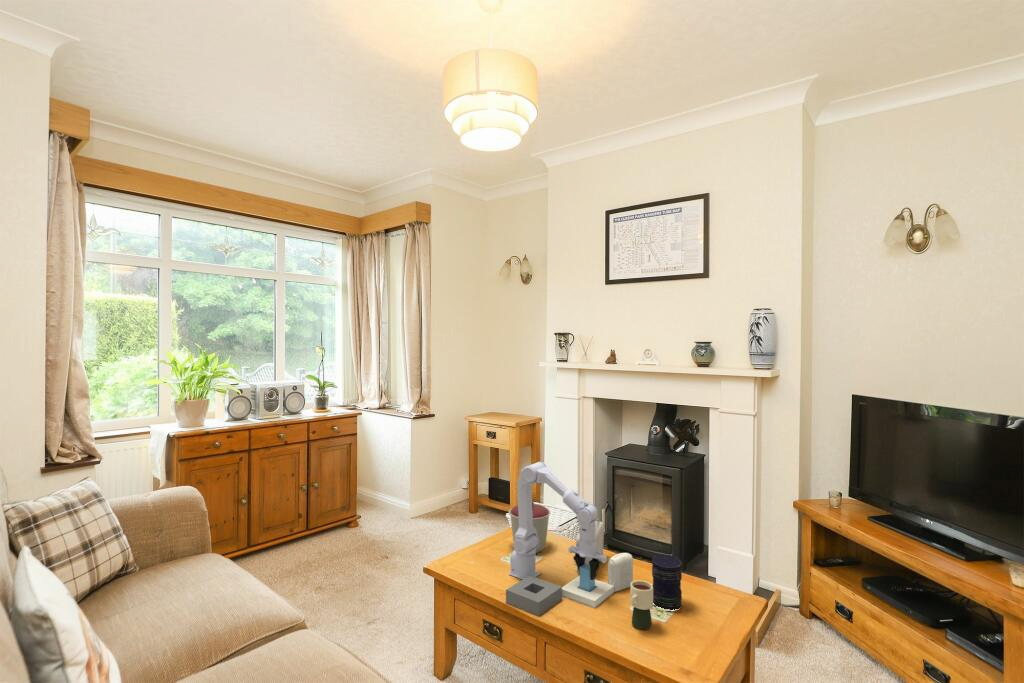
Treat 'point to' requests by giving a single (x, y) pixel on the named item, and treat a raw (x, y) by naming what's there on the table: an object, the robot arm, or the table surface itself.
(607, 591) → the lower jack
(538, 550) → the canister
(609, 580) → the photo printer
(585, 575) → the plug
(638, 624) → the character mug
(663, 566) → the storage jar
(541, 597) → the grey square socket block
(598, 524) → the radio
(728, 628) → the table surface
